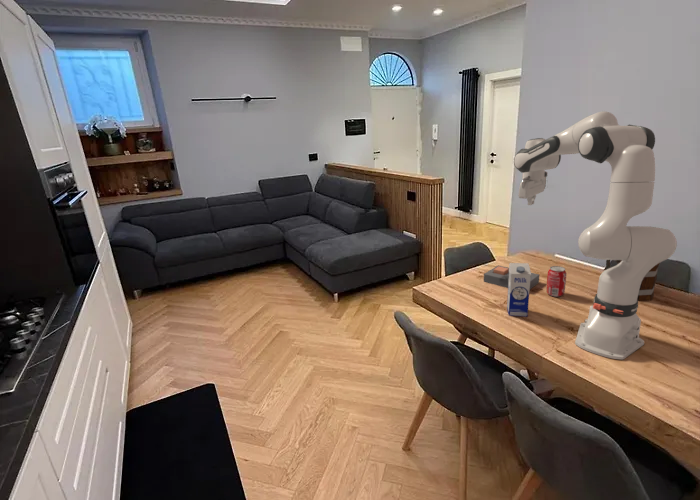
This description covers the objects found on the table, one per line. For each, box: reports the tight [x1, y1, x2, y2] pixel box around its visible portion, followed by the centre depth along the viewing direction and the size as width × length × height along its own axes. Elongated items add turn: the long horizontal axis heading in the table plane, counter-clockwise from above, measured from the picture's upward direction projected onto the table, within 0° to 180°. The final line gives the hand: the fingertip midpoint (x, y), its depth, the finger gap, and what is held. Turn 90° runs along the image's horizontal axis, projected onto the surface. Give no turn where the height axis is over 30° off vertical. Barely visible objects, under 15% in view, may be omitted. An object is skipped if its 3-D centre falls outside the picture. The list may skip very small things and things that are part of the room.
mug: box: [605, 260, 661, 302], centre depth 157 cm, size 20×14×15 cm
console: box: [483, 265, 541, 290], centre depth 176 cm, size 14×20×4 cm
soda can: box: [545, 265, 567, 298], centre depth 160 cm, size 7×7×12 cm
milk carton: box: [506, 262, 532, 318], centre depth 147 cm, size 7×7×20 cm
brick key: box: [494, 265, 509, 275], centre depth 179 cm, size 5×5×3 cm
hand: (530, 204), depth 176 cm, fingers closed
